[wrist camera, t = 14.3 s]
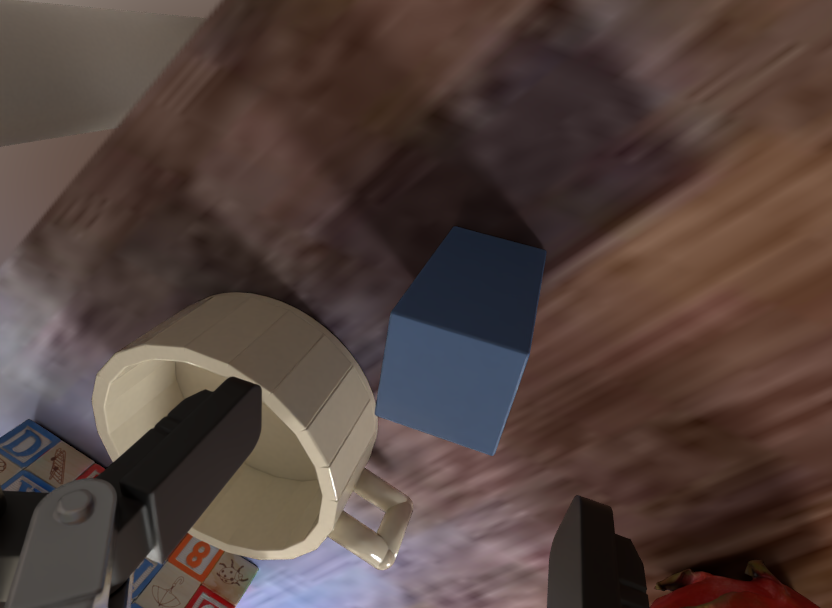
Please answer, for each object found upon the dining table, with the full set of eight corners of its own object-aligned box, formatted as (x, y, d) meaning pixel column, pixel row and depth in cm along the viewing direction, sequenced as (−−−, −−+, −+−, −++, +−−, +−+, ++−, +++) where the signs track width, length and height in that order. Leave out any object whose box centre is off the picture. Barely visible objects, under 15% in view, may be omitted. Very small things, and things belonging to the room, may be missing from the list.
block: (436, 305, 22) (373, 415, 16) (453, 225, 20) (390, 311, 14) (520, 330, 22) (493, 458, 15) (547, 249, 20) (530, 353, 13)
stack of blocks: (26, 458, 40) (-167, 600, 30) (30, 415, 37) (-186, 557, 27) (238, 599, 41) (121, 789, 30) (262, 568, 37) (138, 769, 27)
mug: (151, 401, 32) (78, 461, 27) (201, 243, 25) (113, 287, 20) (369, 545, 32) (333, 629, 27) (481, 430, 25) (458, 517, 20)
